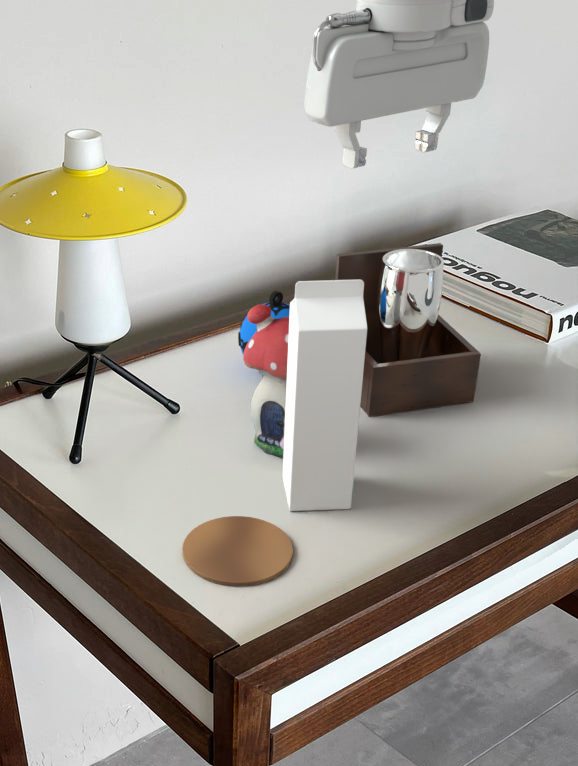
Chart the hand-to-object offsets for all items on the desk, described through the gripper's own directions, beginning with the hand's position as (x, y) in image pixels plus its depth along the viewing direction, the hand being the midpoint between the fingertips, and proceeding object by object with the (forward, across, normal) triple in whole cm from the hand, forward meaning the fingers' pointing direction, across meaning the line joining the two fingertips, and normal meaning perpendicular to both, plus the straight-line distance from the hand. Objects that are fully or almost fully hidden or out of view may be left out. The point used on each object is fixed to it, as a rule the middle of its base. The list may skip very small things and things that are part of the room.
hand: (390, 158), depth 101 cm
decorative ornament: (+27, -14, -3) cm, 30 cm away
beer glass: (+27, +5, 0) cm, 27 cm away
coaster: (+26, -29, -16) cm, 43 cm away
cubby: (+26, +5, 0) cm, 27 cm away
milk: (+27, -18, -12) cm, 34 cm away
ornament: (+27, -5, +11) cm, 29 cm away
